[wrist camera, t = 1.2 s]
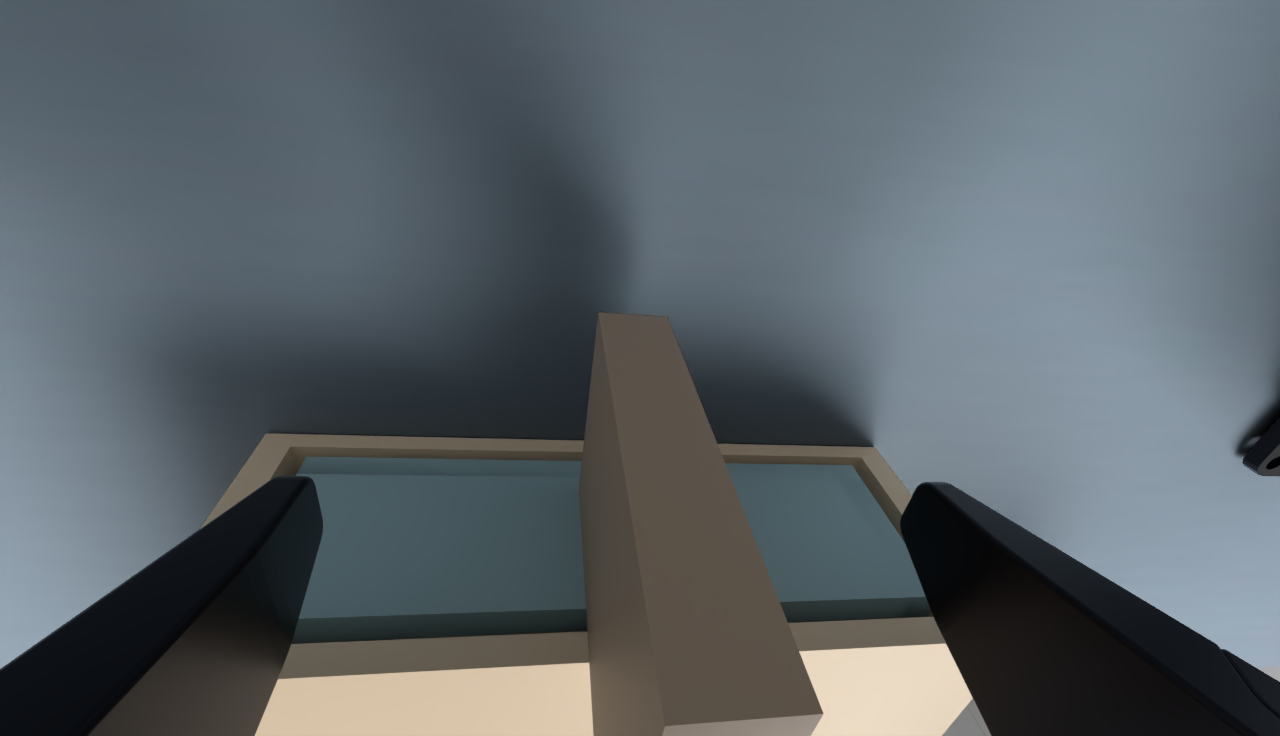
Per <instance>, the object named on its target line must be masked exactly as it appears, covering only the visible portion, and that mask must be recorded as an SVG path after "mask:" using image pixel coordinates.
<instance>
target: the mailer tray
mask: <svg viewBox="0 0 1280 736" xmlns="http://www.w3.org/2000/svg"><path fill="white" fill-rule="evenodd" d="M296 476H308V477H310V478H312V479H313V481H314V483H315V486H316V490H317V495H318V499H319V504H320V508H321V513H322V517H323V534H322V539H321V542H320V546H319V549H318V553H317V556H316V560H315V563H314V567H313V570H312V574H311V577H310V581H309V584H308V588H307V591H306V595H305V598H304V602H303V605H302V609H301V612H300V616H299V619H298V623H297V626H296V630H295V633H294V637H293V640H292V643H291V644H304V643H328V642H351V641H375V640H398V639H422V638H445V637H469V636H492V635H516V634H539V633H563V632H586V631H587V634H588V651H589V668H590V685H591V702H592V719H593V736H811V735H812V733H813V731H814V730H815V728H816V726H817V724H818V723H819V721H820V719H821V718H822V716H823V714H824V713H823V711H822V708H821V706H820V703H819V701H818V698H817V696H816V693H815V691H814V688H813V685H812V683H811V680H810V678H809V675H808V673H807V670H806V668H805V665H804V663H803V660H802V657H801V655H800V652H799V650H798V647H797V645H796V642H795V640H794V637H793V635H792V632H791V630H790V627H789V624H788V623H797V622H821V621H844V620H868V619H891V618H915V617H928V615H929V614H930V612H931V609H930V607H929V604H928V602H927V599H926V596H925V594H924V591H923V589H922V586H921V583H920V581H919V578H918V576H917V573H916V570H915V568H914V565H913V563H912V560H911V557H910V555H909V552H908V549H907V547H906V544H905V542H904V541H903V539H902V538H901V536H900V535H899V533H898V532H897V531H896V529H895V528H894V526H893V525H892V523H891V522H890V520H889V519H888V517H887V516H886V514H885V513H884V511H883V510H882V508H881V507H880V505H879V504H878V503H877V501H876V500H875V498H874V497H873V495H872V494H871V492H870V491H869V489H868V488H867V486H866V485H865V483H864V482H863V480H862V479H861V478H860V476H859V475H858V473H857V472H856V470H855V469H854V467H853V466H852V465H805V464H741V463H725V462H724V459H723V457H722V454H721V452H720V449H719V447H718V444H717V441H716V439H715V436H714V434H713V431H712V429H711V426H710V424H709V421H708V419H707V416H706V414H705V411H704V408H703V406H702V403H701V401H700V398H699V396H698V393H697V391H696V388H695V386H694V383H693V380H692V378H691V375H690V373H689V370H688V368H687V365H686V363H685V360H684V358H683V355H682V353H681V350H680V347H679V345H678V342H677V340H676V337H675V335H674V332H673V330H672V327H671V325H670V322H669V319H668V317H664V316H649V315H634V314H619V313H604V312H598V319H597V328H596V337H595V346H594V355H593V364H592V373H591V382H590V391H589V400H588V409H587V418H586V427H585V436H584V445H583V454H582V461H550V460H486V459H423V458H359V457H306V458H305V460H304V462H303V463H302V465H301V467H300V469H299V470H298V472H297V474H296Z"/></svg>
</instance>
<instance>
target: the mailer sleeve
mask: <svg viewBox="0 0 1280 736" xmlns="http://www.w3.org/2000/svg"><path fill="white" fill-rule="evenodd" d="M583 445H584V441H579V440H534V439H490V438H446V437H402V436H358V435H314V434H270V433H266V434H265V436H264V437H263V438H262V440H261V441H260V443H259V444H258V446H257V447H256V449H255V450H254V451H253V453H252V454H251V456H250V457H249V459H248V460H247V461H246V463H245V464H244V466H243V467H242V469H241V470H240V472H239V473H238V474H237V476H236V477H235V479H234V480H233V482H232V483H231V485H230V486H229V487H228V489H227V490H226V492H225V493H224V495H223V496H222V497H221V499H220V500H219V502H218V503H217V505H216V506H215V508H214V509H213V510H212V512H211V513H210V515H209V516H208V518H207V519H206V521H205V522H204V523H203V525H202V526H201V528H202V527H204V526H205V525H207V524H208V523H209V522H211V521H212V520H214V519H215V518H217V517H218V516H219V515H221V514H222V513H224V512H225V511H227V510H228V509H229V508H231V507H232V506H234V505H235V504H237V503H238V502H239V501H241V500H242V499H244V498H245V497H247V496H248V495H249V494H251V493H252V492H254V491H255V490H257V489H258V488H259V487H261V486H262V485H264V484H265V483H267V482H268V481H269V480H271V479H273V478H275V477H278V476H296V474H297V472H298V470H299V469H300V467H301V465H302V463H303V462H304V460H305V458H306V457H359V458H423V459H486V460H550V461H582V454H583ZM718 447H719V449H720V452H721V454H722V457H723V459H724V462H725V463H741V464H805V465H852V466H853V467H854V469H855V470H856V472H857V473H858V475H859V476H860V478H861V479H862V480H863V482H864V483H865V485H866V486H867V488H868V489H869V491H870V492H871V494H872V495H873V497H874V498H875V500H876V501H877V503H878V504H879V505H880V507H881V508H882V510H883V511H884V513H885V514H886V516H887V517H888V519H889V520H890V522H891V523H892V525H893V526H894V528H895V529H896V531H897V532H898V533H899V535H900V536H901V538H902V539H903V536H902V534H901V530H900V519H901V516H902V514H903V512H904V510H905V508H906V506H907V505H908V503H909V501H910V499H911V497H912V495H911V494H910V492H909V491H908V490H907V488H906V487H905V486H904V484H903V483H902V482H901V480H900V479H899V478H898V476H897V475H896V474H895V473H894V471H893V470H892V469H891V467H890V466H889V465H888V463H887V462H886V461H885V459H884V458H883V457H882V455H881V454H880V453H879V452H878V450H877V449H876V448H875V447H843V446H799V445H755V444H718ZM201 528H200V529H201ZM903 541H904V539H903ZM788 624H789V627H790V630H791V632H792V635H793V637H794V640H795V642H796V645H797V647H798V650H799V652H800V655H801V657H802V660H803V663H804V665H805V668H806V670H807V673H808V675H809V678H810V680H811V683H812V685H813V688H814V691H815V693H816V696H817V698H818V701H819V703H820V706H821V708H822V711H823V713H824V714H823V716H822V718H821V719H820V721H819V723H818V724H817V726H816V728H815V730H814V731H813V733H812V735H811V736H942V735H943V734H944V732H945V731H946V730H947V729H948V728H949V726H950V725H951V724H952V723H953V722H954V720H955V719H956V718H957V717H958V716H959V714H960V713H961V712H962V711H963V710H964V708H965V707H966V706H967V705H968V704H969V702H970V701H971V700H972V699H973V698H972V696H971V694H970V692H969V690H968V688H967V686H966V684H965V682H964V680H963V677H962V675H961V673H960V671H959V669H958V667H957V665H956V663H955V661H954V659H953V657H952V655H951V653H950V651H949V649H948V647H947V645H946V643H945V641H944V639H943V637H942V635H941V632H940V630H939V628H938V626H937V624H936V622H935V619H934V617H933V614H932V612H930V614H929V615H928V617H915V618H891V619H868V620H844V621H821V622H797V623H788ZM255 736H593V719H592V702H591V685H590V668H589V651H588V634H587V631H586V632H563V633H539V634H516V635H492V636H469V637H445V638H422V639H398V640H375V641H351V642H328V643H304V644H291V646H290V649H289V652H288V655H287V657H286V660H285V663H284V665H283V668H282V671H281V673H280V676H279V678H278V680H277V683H276V685H275V688H274V690H273V693H272V695H271V697H270V700H269V702H268V705H267V707H266V710H265V712H264V715H263V717H262V719H261V722H260V724H259V727H258V729H257V732H256V734H255Z"/></svg>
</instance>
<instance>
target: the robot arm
mask: <svg viewBox="0 0 1280 736" xmlns="http://www.w3.org/2000/svg"><path fill="white" fill-rule="evenodd" d="M1242 463H1243V464H1244V466H1246V467H1247V468H1249V469H1250V470H1252V471H1253V472H1255V473H1257V474H1258V475H1261V476H1280V418H1279V419H1278V420H1277V421H1276V422H1275V423H1274V424H1273V426H1272V427H1271V428H1270V429H1269V430H1268V431H1267V432H1266V433H1265V434H1264V435H1263V436H1262V438H1261V439H1260V440H1259V441H1258V442H1257V443H1256V444H1255V445H1254V446H1253V447H1252V448H1251V450H1250V451H1249V452H1248V453H1247V454H1246V456H1245V457H1244V458H1243V462H1242ZM900 530H901V534H902V536H903V539H904V542H905V544H906V547H907V549H908V552H909V555H910V557H911V560H912V563H913V565H914V568H915V570H916V573H917V576H918V578H919V581H920V583H921V586H922V589H923V591H924V594H925V596H926V599H927V602H928V604H929V607H930V609H931V612H932V614H933V617H934V619H935V622H936V624H937V626H938V628H939V630H940V632H941V635H942V637H943V639H944V641H945V643H946V645H947V647H948V649H949V651H950V653H951V655H952V657H953V659H954V661H955V663H956V665H957V667H958V669H959V671H960V673H961V675H962V677H963V680H964V682H965V684H966V686H967V688H968V690H969V692H970V694H971V696H972V698H973V700H974V702H975V704H976V706H977V708H978V710H979V712H980V714H981V716H982V718H983V720H984V722H985V724H986V726H987V728H988V730H989V732H990V734H991V736H1280V682H1279V681H1277V680H1275V679H1273V678H1272V677H1270V676H1269V675H1267V674H1265V673H1264V672H1262V671H1260V670H1258V669H1257V668H1255V667H1254V666H1252V665H1250V664H1249V663H1247V662H1245V661H1244V660H1242V659H1240V658H1239V657H1237V656H1235V655H1234V654H1232V653H1230V652H1229V651H1227V650H1224V649H1220V648H1219V646H1218V645H1217V644H1215V643H1213V642H1212V641H1210V640H1208V639H1207V638H1205V637H1203V636H1202V635H1200V634H1199V633H1197V632H1195V631H1194V630H1192V629H1190V628H1189V627H1187V626H1185V625H1184V624H1182V623H1180V622H1179V621H1177V620H1175V619H1174V618H1172V617H1170V616H1169V615H1167V614H1165V613H1164V612H1162V611H1160V610H1159V609H1157V608H1155V607H1154V606H1152V605H1150V604H1149V603H1147V602H1145V601H1144V600H1142V599H1140V598H1139V597H1137V596H1135V595H1134V594H1132V593H1130V592H1129V591H1127V590H1125V589H1124V588H1122V587H1120V586H1119V585H1117V584H1115V583H1114V582H1112V581H1110V580H1109V579H1107V578H1105V577H1104V576H1102V575H1100V574H1099V573H1097V572H1096V571H1094V570H1092V569H1091V568H1089V567H1087V566H1086V565H1084V564H1082V563H1081V562H1079V561H1077V560H1076V559H1074V558H1072V557H1071V556H1069V555H1067V554H1066V553H1064V552H1062V551H1061V550H1059V549H1057V548H1056V547H1054V546H1052V545H1051V544H1049V543H1047V542H1046V541H1044V540H1042V539H1041V538H1039V537H1037V536H1036V535H1034V534H1032V533H1031V532H1029V531H1027V530H1026V529H1024V528H1022V527H1021V526H1019V525H1017V524H1016V523H1014V522H1012V521H1011V520H1009V519H1007V518H1006V517H1004V516H1002V515H1001V514H999V513H998V512H996V511H994V510H993V509H991V508H989V507H988V506H986V505H984V504H983V503H981V502H979V501H978V500H976V499H974V498H973V497H971V496H969V495H968V494H966V493H964V492H963V491H961V490H959V489H958V488H956V487H954V486H953V485H951V484H949V483H945V482H924V483H921V484H920V485H919V486H918V487H917V488H916V490H915V492H914V493H913V495H912V497H911V499H910V501H909V503H908V505H907V506H906V508H905V510H904V512H903V514H902V516H901V519H900ZM322 534H323V517H322V513H321V508H320V504H319V499H318V495H317V490H316V486H315V483H314V481H313V479H312V478H310V477H308V476H278V477H275V478H273V479H271V480H269V481H268V482H267V483H265V484H264V485H262V486H261V487H259V488H258V489H257V490H255V491H254V492H252V493H251V494H249V495H248V496H247V497H245V498H244V499H242V500H241V501H239V502H238V503H237V504H235V505H234V506H232V507H231V508H229V509H228V510H227V511H225V512H224V513H222V514H221V515H219V516H218V517H217V518H215V519H214V520H212V521H211V522H209V523H208V524H207V525H205V526H204V527H202V528H201V529H199V530H198V531H197V532H195V533H194V534H192V535H191V536H189V537H188V538H187V539H185V540H184V541H182V542H181V543H179V544H178V545H177V546H175V547H174V548H172V549H171V550H169V551H168V552H167V553H165V554H164V555H162V556H161V557H159V558H158V559H157V560H155V561H154V562H152V563H151V564H150V565H148V566H147V567H145V568H144V569H142V570H141V571H140V572H138V573H137V574H135V575H134V576H132V577H131V578H130V579H128V580H127V581H125V582H124V583H122V584H121V585H120V586H118V587H117V588H115V589H114V590H112V591H111V592H110V593H108V594H107V595H105V596H104V597H102V598H101V599H100V600H98V601H97V602H95V603H94V604H92V605H91V606H90V607H88V608H87V609H85V610H84V611H82V612H81V613H80V614H78V615H77V616H75V617H74V618H72V619H71V620H70V621H68V622H67V623H65V624H64V625H62V626H61V627H60V628H58V629H57V630H55V631H54V632H52V633H51V634H50V635H48V636H47V637H45V638H44V639H42V640H41V641H40V642H38V643H37V644H35V645H34V646H32V647H31V648H30V649H28V650H27V651H25V652H24V653H22V654H21V655H20V656H18V657H17V658H15V659H14V660H12V661H11V662H10V663H8V664H7V665H5V666H4V667H2V668H1V669H0V736H255V734H256V732H257V729H258V727H259V724H260V722H261V719H262V717H263V715H264V712H265V710H266V707H267V705H268V702H269V700H270V697H271V695H272V693H273V690H274V688H275V685H276V683H277V680H278V678H279V676H280V673H281V671H282V668H283V665H284V663H285V660H286V657H287V655H288V652H289V649H290V646H291V643H292V640H293V637H294V633H295V630H296V626H297V623H298V619H299V616H300V612H301V609H302V605H303V602H304V598H305V595H306V591H307V588H308V584H309V581H310V577H311V574H312V570H313V567H314V563H315V560H316V556H317V553H318V549H319V546H320V542H321V539H322Z"/></svg>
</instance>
